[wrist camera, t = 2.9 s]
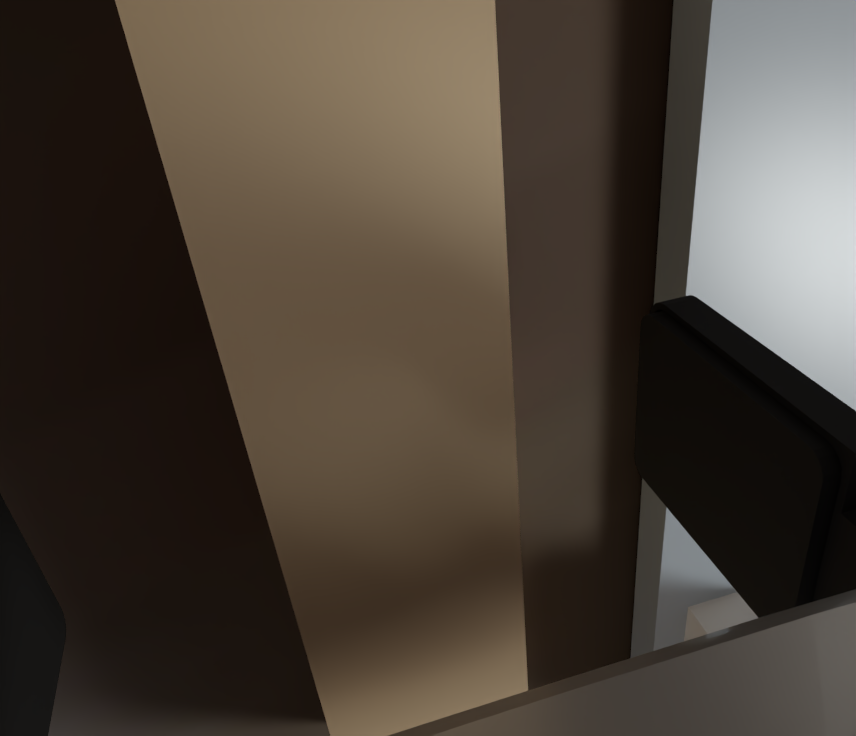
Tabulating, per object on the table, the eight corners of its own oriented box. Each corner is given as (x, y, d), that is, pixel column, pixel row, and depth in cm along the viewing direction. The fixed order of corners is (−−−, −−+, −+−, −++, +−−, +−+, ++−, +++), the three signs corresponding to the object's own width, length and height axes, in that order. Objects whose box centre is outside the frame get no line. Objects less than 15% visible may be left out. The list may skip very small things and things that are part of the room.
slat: (41, -486, 7) (-274, -1328, 2) (282, -493, 8) (435, -1231, 3) (352, 714, 18) (412, 1016, 13) (447, 685, 18) (541, 967, 13)
